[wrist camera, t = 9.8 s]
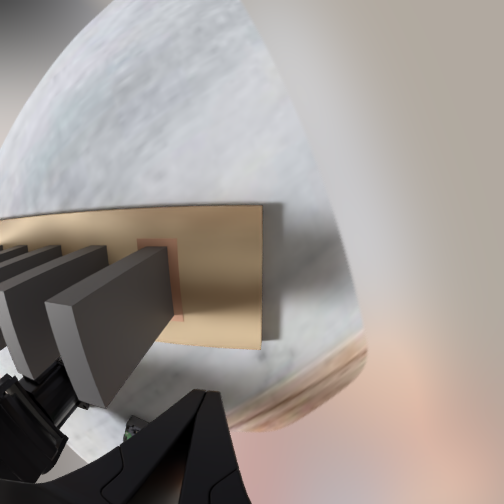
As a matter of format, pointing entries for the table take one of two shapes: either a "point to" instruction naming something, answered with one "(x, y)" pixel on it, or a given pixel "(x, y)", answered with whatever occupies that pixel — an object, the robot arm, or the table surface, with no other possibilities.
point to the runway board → (175, 261)
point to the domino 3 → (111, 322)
